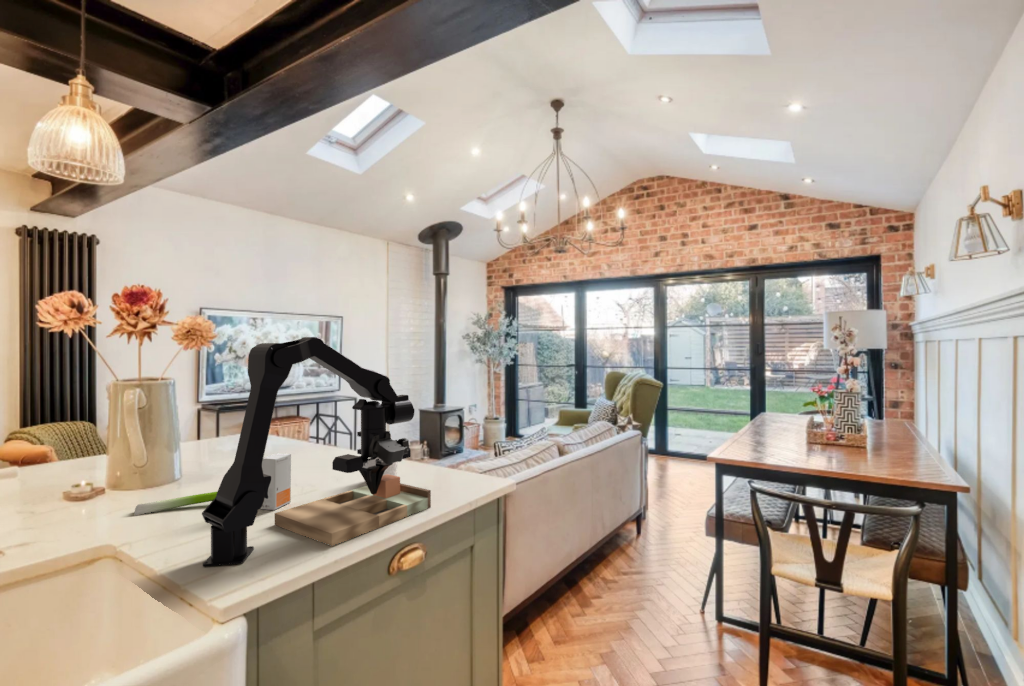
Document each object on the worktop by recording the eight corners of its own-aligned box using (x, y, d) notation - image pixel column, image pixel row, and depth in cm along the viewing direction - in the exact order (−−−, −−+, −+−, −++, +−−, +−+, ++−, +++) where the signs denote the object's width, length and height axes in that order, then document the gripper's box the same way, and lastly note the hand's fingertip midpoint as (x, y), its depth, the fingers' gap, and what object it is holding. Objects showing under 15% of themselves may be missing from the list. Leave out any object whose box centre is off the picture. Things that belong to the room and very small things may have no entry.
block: (385, 498, 115) (385, 481, 115) (373, 495, 118) (372, 478, 118) (400, 493, 119) (400, 476, 119) (387, 490, 121) (387, 474, 121)
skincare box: (275, 510, 114) (274, 459, 114) (259, 509, 115) (258, 458, 115) (291, 502, 120) (291, 453, 120) (276, 501, 121) (276, 452, 121)
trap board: (331, 546, 94) (331, 525, 94) (274, 524, 105) (274, 506, 105) (430, 507, 116) (430, 490, 116) (374, 492, 128) (374, 477, 128)
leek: (143, 517, 116) (281, 492, 127) (132, 531, 110) (279, 504, 120) (139, 493, 115) (279, 470, 126) (128, 506, 109) (276, 481, 119)
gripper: (363, 437, 103) (363, 511, 103) (426, 424, 118) (426, 489, 118) (330, 432, 109) (331, 502, 109) (394, 420, 124) (395, 482, 124)
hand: (373, 493), depth 115 cm, fingers closed
